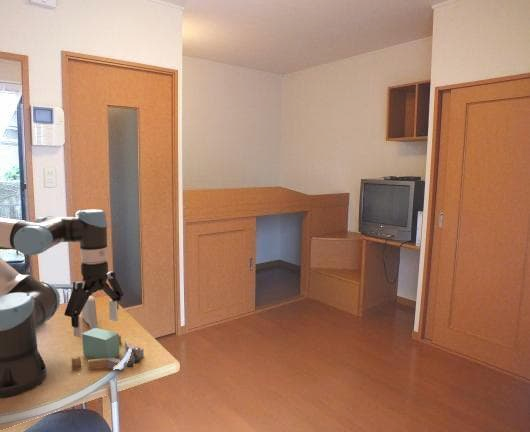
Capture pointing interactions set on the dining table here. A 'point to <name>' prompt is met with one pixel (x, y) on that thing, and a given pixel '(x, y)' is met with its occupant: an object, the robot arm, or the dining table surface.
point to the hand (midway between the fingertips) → (96, 328)
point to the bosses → (136, 357)
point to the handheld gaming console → (90, 313)
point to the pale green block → (100, 343)
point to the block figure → (103, 359)
